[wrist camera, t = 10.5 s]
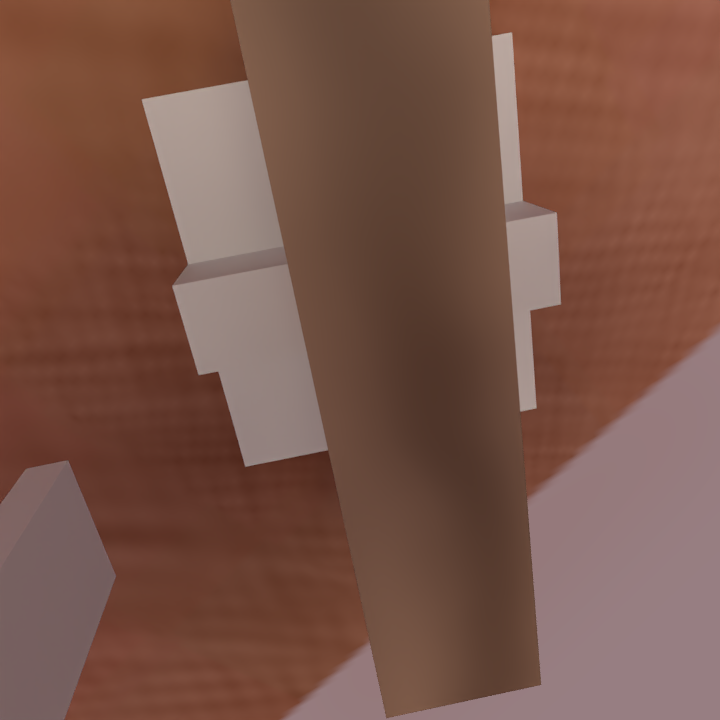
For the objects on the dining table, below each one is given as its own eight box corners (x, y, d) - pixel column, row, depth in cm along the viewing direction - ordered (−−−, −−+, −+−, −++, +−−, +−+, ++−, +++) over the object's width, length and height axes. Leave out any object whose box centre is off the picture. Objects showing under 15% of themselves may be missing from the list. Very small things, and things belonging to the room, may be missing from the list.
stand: (246, 455, 29) (232, 560, 22) (147, 100, 23) (85, 91, 16) (528, 399, 30) (600, 484, 23) (503, 35, 24) (590, 0, 17)
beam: (368, 601, 24) (386, 718, 19) (228, -58, 15) (200, -136, 11) (493, 575, 24) (540, 684, 19) (421, -92, 16) (475, -182, 11)
